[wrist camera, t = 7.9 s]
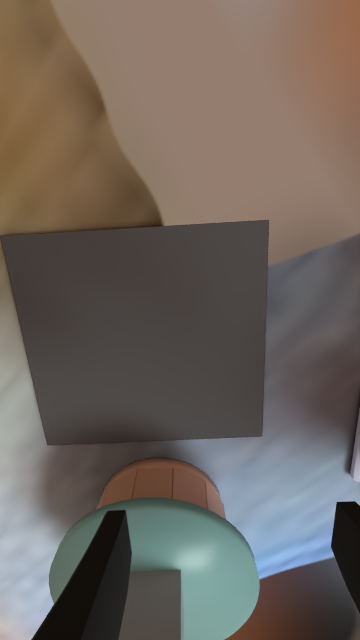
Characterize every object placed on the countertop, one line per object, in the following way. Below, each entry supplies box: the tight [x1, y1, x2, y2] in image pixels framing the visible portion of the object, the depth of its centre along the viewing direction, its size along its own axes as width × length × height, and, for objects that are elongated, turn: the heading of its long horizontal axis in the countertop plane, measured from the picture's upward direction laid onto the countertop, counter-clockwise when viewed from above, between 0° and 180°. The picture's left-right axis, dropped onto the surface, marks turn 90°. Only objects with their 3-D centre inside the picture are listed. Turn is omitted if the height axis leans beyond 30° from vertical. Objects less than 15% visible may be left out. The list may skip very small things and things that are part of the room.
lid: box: [49, 497, 259, 640], centre depth 15 cm, size 13×13×5 cm
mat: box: [0, 220, 269, 445], centre depth 18 cm, size 16×15×1 cm
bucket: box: [95, 458, 226, 519], centre depth 20 cm, size 10×10×5 cm
